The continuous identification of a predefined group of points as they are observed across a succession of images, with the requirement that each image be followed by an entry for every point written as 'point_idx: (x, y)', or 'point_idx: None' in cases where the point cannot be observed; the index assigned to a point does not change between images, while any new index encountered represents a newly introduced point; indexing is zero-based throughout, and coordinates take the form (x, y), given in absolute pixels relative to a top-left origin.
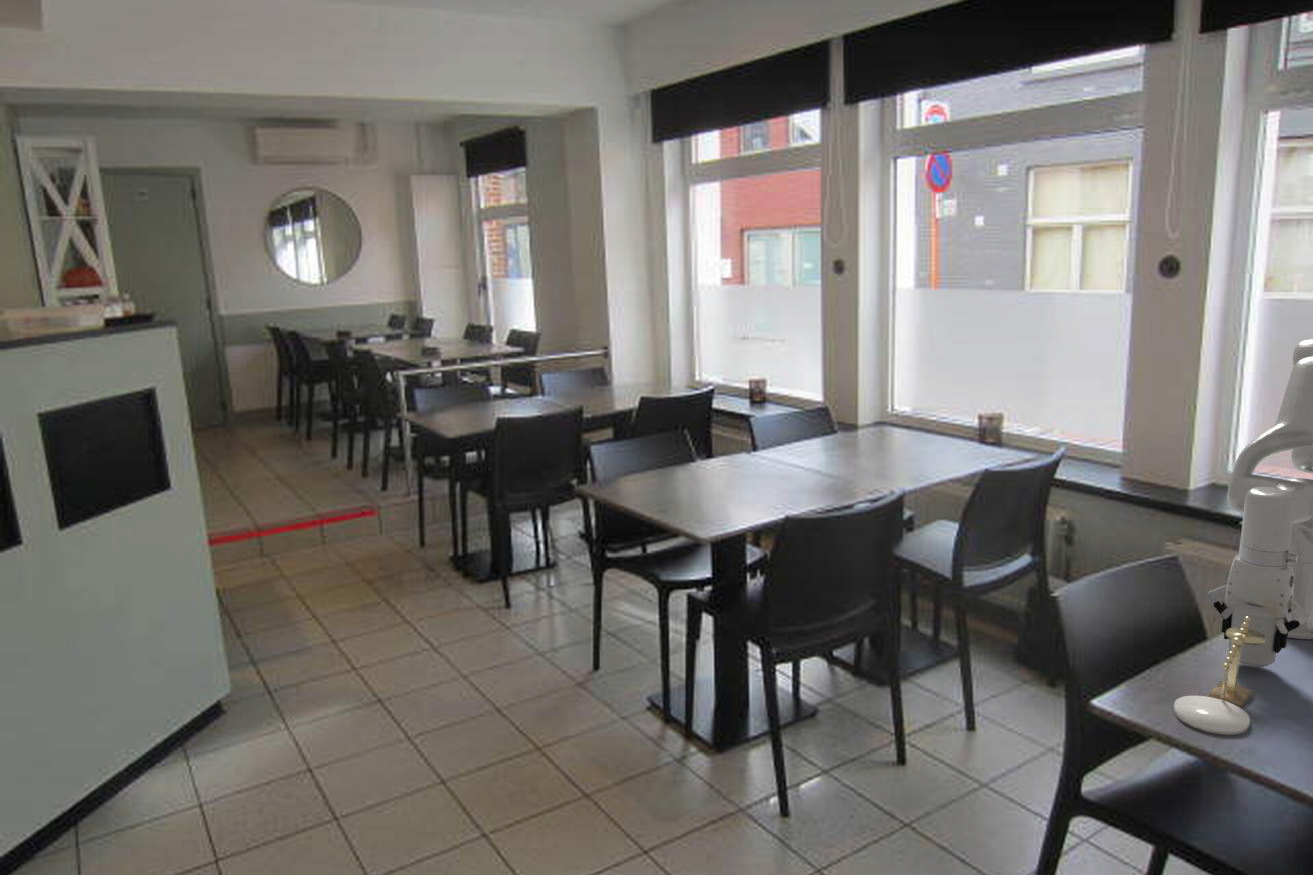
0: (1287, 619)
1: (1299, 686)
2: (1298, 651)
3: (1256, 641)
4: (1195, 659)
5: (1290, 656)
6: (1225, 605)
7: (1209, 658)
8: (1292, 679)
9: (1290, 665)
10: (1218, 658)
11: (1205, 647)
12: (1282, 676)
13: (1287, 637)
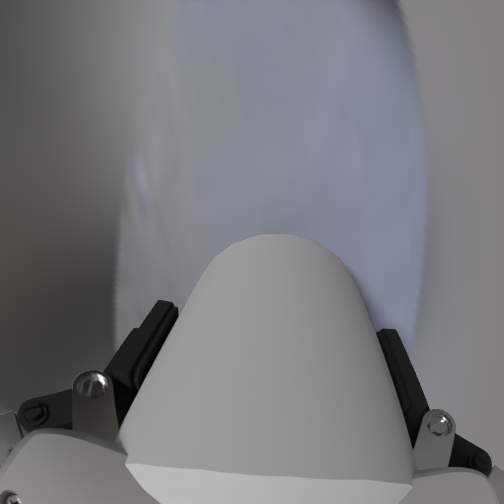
0: (443, 466)
1: (407, 329)
2: (396, 29)
3: None
4: (137, 312)
5: (386, 88)
6: (65, 426)
7: (160, 283)
8: (396, 296)
9: (395, 178)
10: (180, 267)
11: (124, 197)
12: (372, 292)
13: (421, 388)
